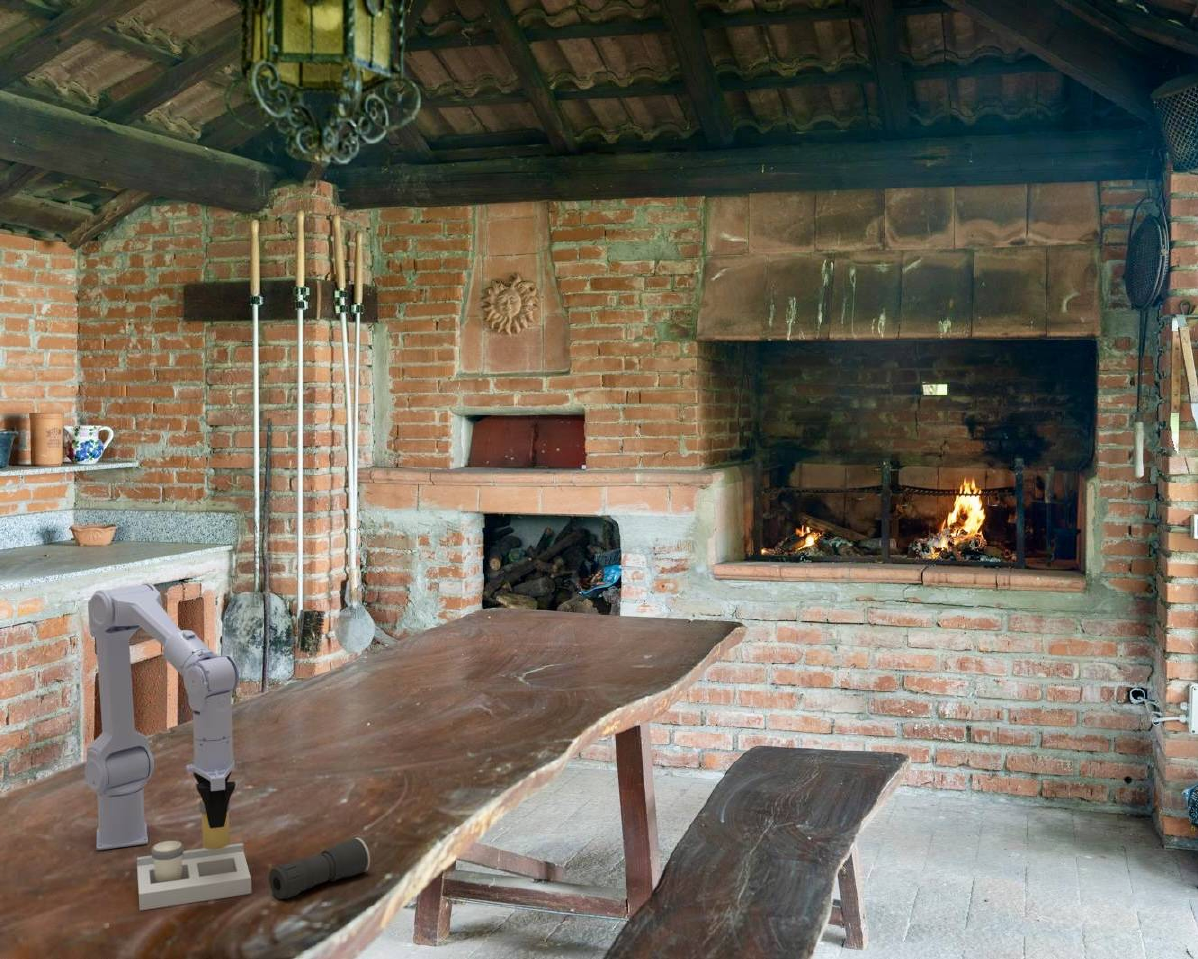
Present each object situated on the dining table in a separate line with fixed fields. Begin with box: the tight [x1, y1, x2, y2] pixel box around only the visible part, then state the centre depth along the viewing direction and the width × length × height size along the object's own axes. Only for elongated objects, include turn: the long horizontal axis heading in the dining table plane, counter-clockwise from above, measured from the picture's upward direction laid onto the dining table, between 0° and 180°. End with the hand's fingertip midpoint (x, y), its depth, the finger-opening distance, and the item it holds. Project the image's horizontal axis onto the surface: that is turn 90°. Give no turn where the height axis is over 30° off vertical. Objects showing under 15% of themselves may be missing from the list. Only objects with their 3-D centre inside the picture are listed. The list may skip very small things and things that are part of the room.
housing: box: [136, 842, 252, 911], centre depth 191 cm, size 12×16×4 cm
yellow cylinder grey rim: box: [198, 798, 232, 849], centre depth 192 cm, size 5×5×7 cm
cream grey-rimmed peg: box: [151, 840, 185, 883], centre depth 190 cm, size 5×5×7 cm
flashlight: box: [268, 837, 371, 900], centre depth 192 cm, size 15×5×5 cm, turn 135°
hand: (215, 821), depth 192 cm, fingers closed on yellow cylinder grey rim, 4 cm apart
